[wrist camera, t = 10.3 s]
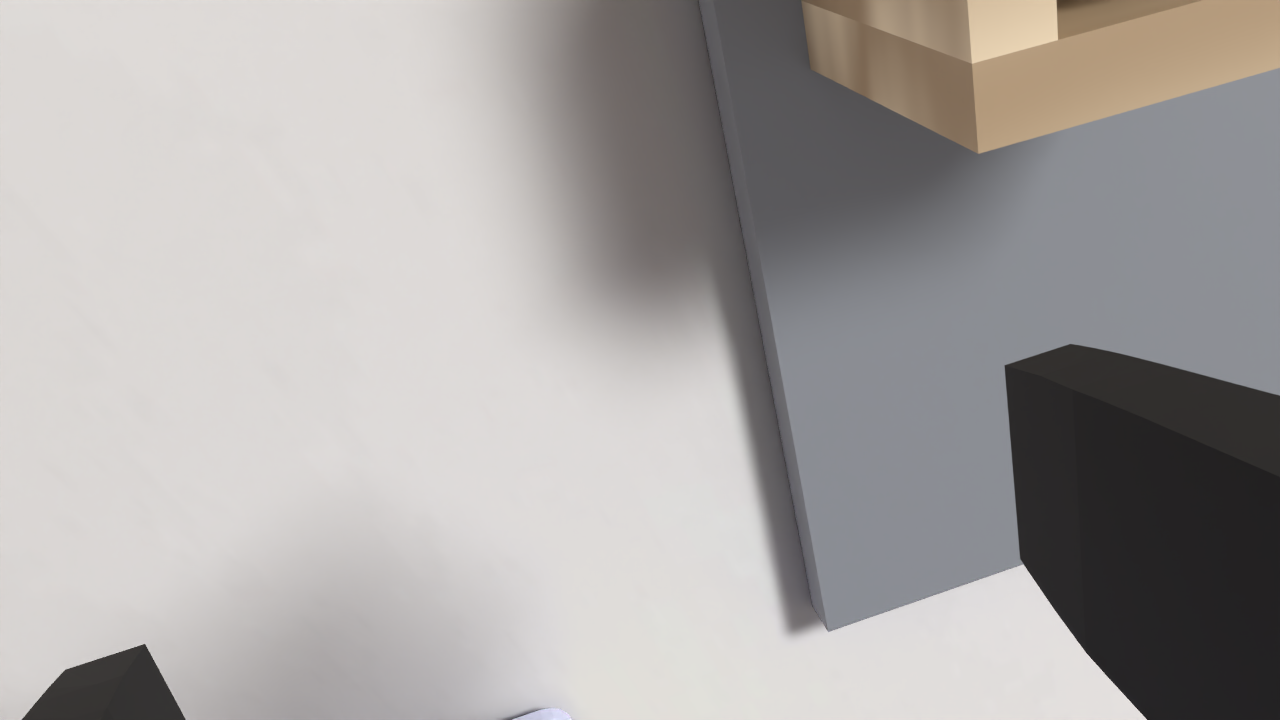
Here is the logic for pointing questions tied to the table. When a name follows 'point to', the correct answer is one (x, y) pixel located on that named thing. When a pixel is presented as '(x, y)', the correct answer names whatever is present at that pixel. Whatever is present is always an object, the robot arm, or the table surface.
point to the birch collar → (1034, 58)
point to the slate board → (971, 290)
